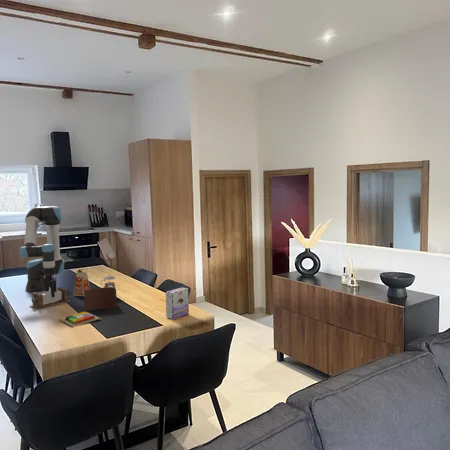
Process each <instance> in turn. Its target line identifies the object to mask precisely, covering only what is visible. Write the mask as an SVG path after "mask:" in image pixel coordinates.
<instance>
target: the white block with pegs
mask: <svg viewBox="0 0 450 450" xmlns="http://www.w3.org/2000/svg"><path fill="white" fill-rule="evenodd" d="M56 290H57V289H56ZM50 292H51V291H50ZM50 292H49V293H46V292H45V293H44V292H43V293H42V294H43V304H44V303H48V302H50ZM62 295H63V294H62V293H61V291H58V290H57V291H56V292H55V301H57V300H61V299H62ZM30 301H31V304H33V303H35V302H36V301H37V298H32V297H31V300H30Z"/></svg>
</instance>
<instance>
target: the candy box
mask: <svg viewBox="0 0 450 450" xmlns="http://www.w3.org/2000/svg"><path fill="white" fill-rule="evenodd" d="M189 305H190V303H189V288H187V287H179V288H175V289H172V290H168V291H165V307H166V308H165V309H166V310H165V312H166V313H165V318H166V317H167V318H166V319H168V318H170V319H169V320H171V319H174V320H176V319H175V318H177V319H179V318H178V317H180V318H182V317H184V315H185V316H188V315H189V314H190V312H189V310H190V309H189ZM187 314H188V315H187ZM181 316H182V317H181Z"/></svg>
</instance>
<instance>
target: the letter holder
mask: <svg viewBox="0 0 450 450" xmlns="http://www.w3.org/2000/svg"><path fill="white" fill-rule="evenodd" d="M116 295H117V289H116V287H115V288H104V287H102V288H101V287H95V288H90V289H89V290H86V291H85V292H84V296H83V297H84V300H83V301H84V312H89V311H97V310H106V309H107V310H108V309H117V307H118V305H117V302H118V301H117V297H116Z"/></svg>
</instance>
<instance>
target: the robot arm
mask: <svg viewBox="0 0 450 450" xmlns="http://www.w3.org/2000/svg"><path fill="white" fill-rule="evenodd" d="M61 222H63V214H62V211H61V207H60V206H56V205H52V206H51V205H49V206H47V205H46V206H35V207H33V208H31V210H29V211H28V212H27V214H26V216H25V218H24V223H25V232H24V241H23V246H21V247H20V248H19V256H20V258H27V259H28V258H37V259H32V260H29V261H28V262H27V263H26V270H27V282H26V285H25V291H26V292H27V293H28V292H29V293H35V292H36V293H38V292H45V293H49V292H50V302H55V292H56V291H57V276H60V275H63V274H64V268H65V259H63V257H62V256H61V250H60V233H59V232H60V230H59V229H60V228H59V226H60V225H61ZM40 223H43V225H44V226H45V227H46V242H47V243H45V244H44V243H43V244H42V245H37V237H38V225H39V224H40ZM39 257H40V258H39ZM41 257H42V258H41Z"/></svg>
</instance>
